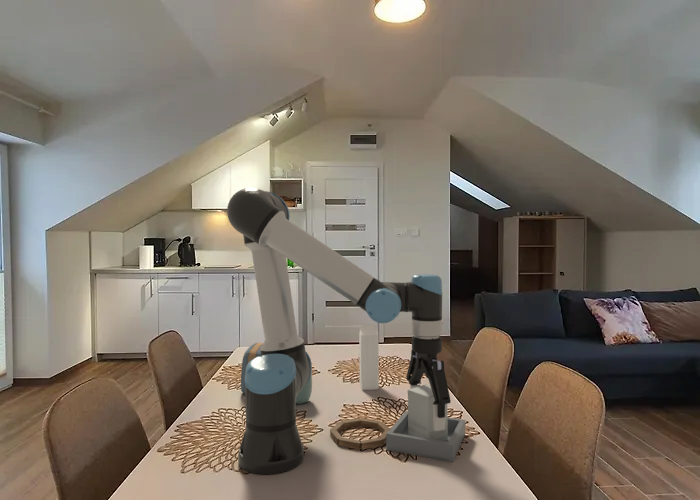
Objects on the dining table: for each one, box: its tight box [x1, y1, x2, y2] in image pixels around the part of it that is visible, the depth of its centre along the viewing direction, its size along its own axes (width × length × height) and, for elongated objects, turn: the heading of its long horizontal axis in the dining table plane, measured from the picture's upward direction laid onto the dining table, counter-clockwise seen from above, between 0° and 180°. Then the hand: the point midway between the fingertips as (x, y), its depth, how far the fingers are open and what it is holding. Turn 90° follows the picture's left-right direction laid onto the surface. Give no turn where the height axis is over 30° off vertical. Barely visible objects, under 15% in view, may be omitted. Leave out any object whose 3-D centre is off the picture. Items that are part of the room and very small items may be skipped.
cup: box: [296, 371, 313, 405], centre depth 148 cm, size 8×8×10 cm
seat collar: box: [329, 417, 391, 450], centre depth 122 cm, size 15×15×2 cm
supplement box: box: [407, 383, 449, 441], centre depth 118 cm, size 7×7×13 cm
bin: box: [385, 410, 466, 463], centre depth 118 cm, size 16×16×4 cm
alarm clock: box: [240, 342, 264, 394], centre depth 162 cm, size 16×16×16 cm
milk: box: [358, 323, 380, 391], centre depth 161 cm, size 6×6×22 cm
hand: (426, 419), depth 118 cm, fingers open, 13 cm apart
